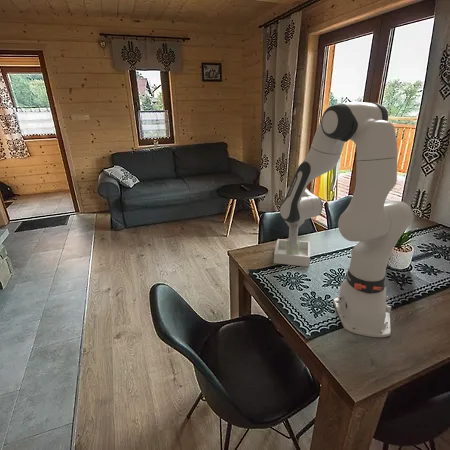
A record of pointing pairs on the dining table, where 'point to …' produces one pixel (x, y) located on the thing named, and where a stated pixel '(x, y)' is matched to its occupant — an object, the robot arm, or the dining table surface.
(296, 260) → the bin
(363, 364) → the dining table surface
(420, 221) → the dining table surface
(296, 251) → the pale green rounded block
